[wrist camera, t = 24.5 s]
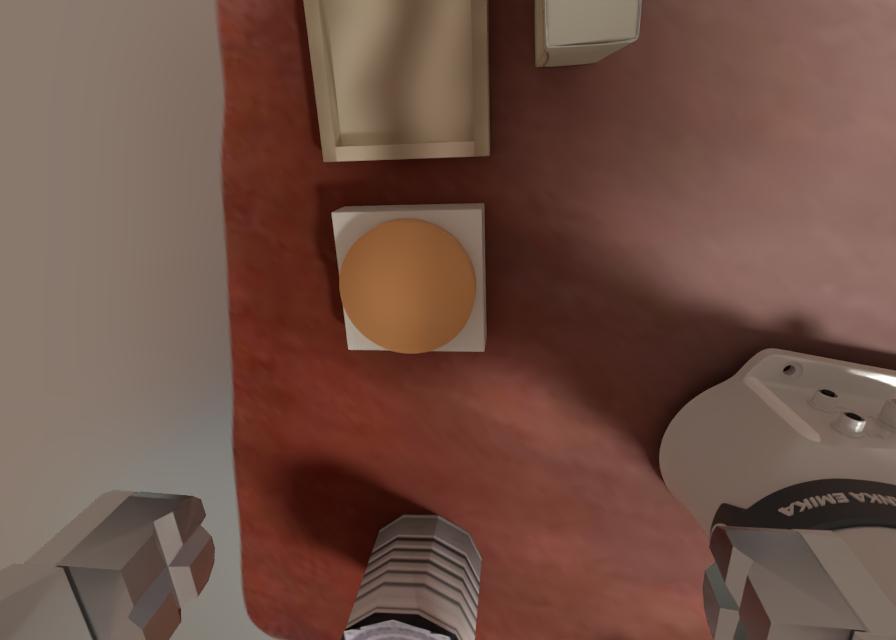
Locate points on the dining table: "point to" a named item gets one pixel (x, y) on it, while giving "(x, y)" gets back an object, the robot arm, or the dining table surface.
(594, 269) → the dining table surface
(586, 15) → the skincare box
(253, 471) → the dining table surface
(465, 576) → the can
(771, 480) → the robot arm
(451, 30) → the beige soap dish
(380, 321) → the button
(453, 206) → the white square base
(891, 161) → the dining table surface
